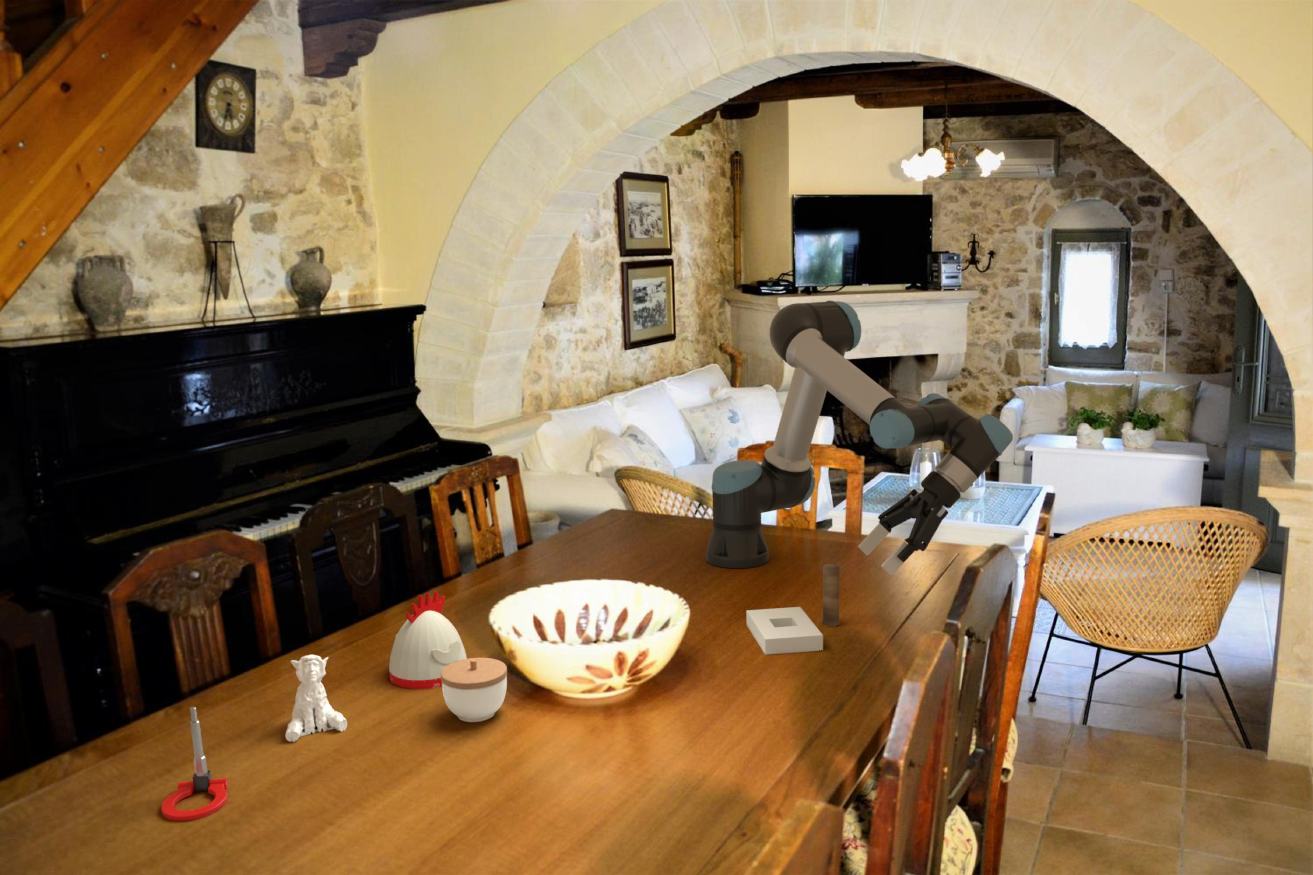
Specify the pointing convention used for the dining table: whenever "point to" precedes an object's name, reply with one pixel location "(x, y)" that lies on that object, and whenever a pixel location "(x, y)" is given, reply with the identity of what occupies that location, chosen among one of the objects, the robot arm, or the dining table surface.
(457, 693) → the lidded jar
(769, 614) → the hole block
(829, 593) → the peg
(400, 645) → the kitchen timer
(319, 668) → the white creature statuette
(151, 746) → the dining table surface
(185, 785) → the tow hook
